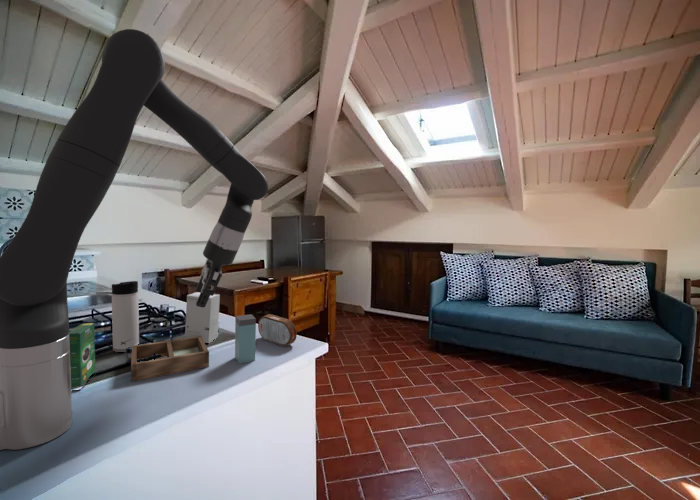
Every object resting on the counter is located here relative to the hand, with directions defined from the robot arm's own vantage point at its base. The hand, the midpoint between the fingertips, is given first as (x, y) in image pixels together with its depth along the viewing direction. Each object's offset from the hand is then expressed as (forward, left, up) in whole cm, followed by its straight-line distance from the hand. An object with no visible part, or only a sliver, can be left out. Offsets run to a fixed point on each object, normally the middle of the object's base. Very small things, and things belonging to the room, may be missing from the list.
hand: (199, 298), depth 84 cm
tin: (+24, +7, -18) cm, 31 cm away
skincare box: (+4, +19, -18) cm, 27 cm away
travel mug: (-16, +21, -18) cm, 32 cm away
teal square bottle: (+12, -1, -18) cm, 22 cm away
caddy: (-6, +5, -18) cm, 20 cm away
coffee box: (-24, +3, -18) cm, 31 cm away
